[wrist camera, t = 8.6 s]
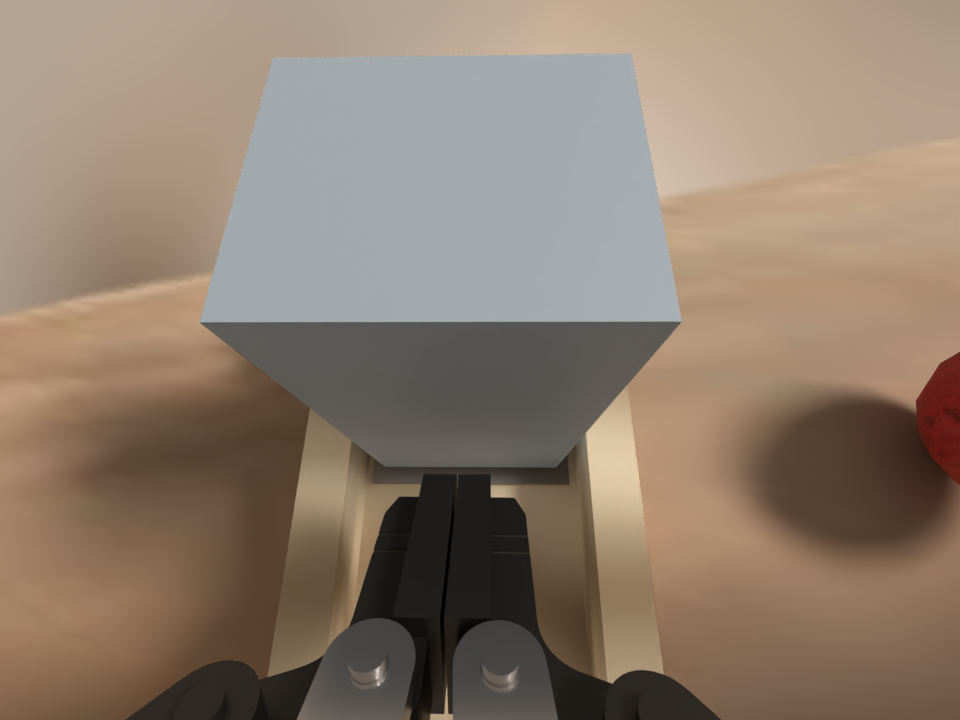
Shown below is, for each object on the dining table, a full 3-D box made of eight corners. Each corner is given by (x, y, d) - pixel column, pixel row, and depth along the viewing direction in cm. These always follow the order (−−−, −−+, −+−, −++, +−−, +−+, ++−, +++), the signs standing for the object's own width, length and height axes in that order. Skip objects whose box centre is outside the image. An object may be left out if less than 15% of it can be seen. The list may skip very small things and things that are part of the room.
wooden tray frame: (670, 1037, 11) (796, 1373, 7) (259, 1026, 12) (107, 1347, 7) (596, 329, 19) (631, 259, 14) (350, 329, 19) (308, 260, 15)
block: (556, 467, 16) (681, 321, 6) (385, 467, 16) (199, 322, 6) (548, 338, 18) (631, 54, 7) (396, 338, 18) (272, 57, 8)
